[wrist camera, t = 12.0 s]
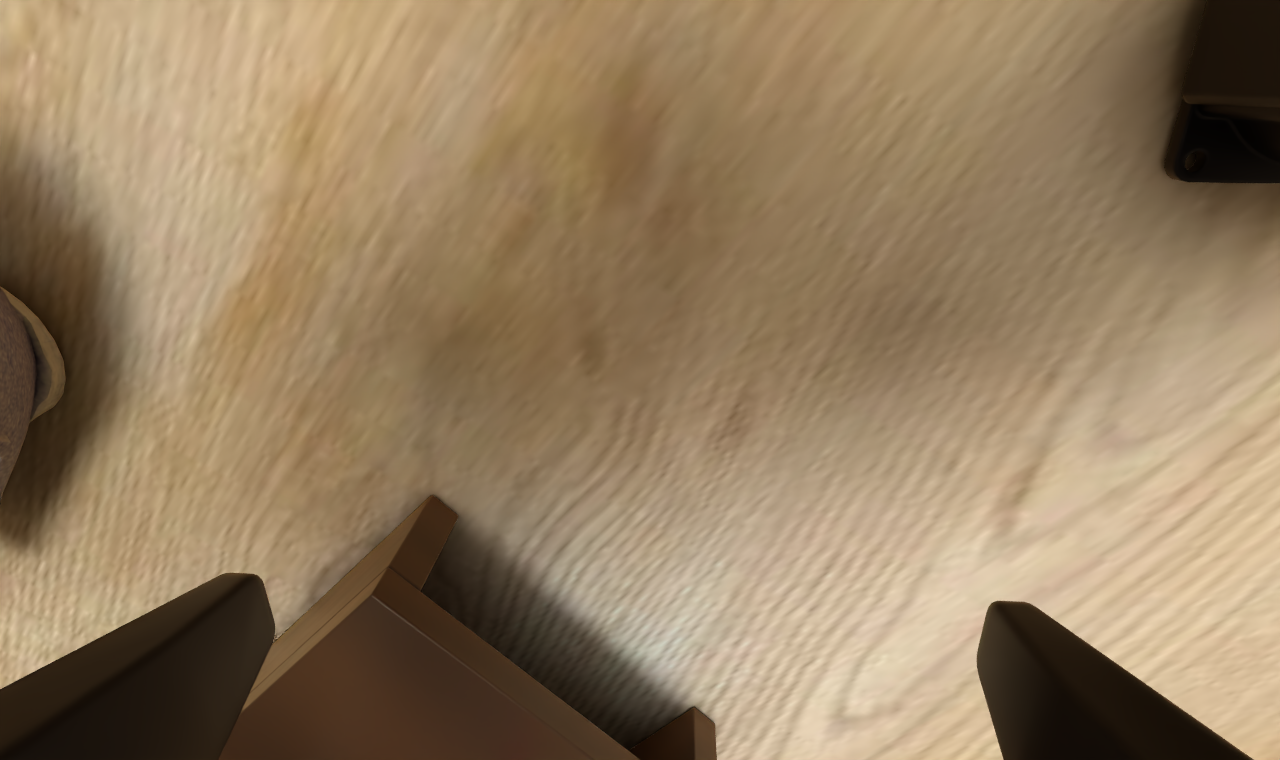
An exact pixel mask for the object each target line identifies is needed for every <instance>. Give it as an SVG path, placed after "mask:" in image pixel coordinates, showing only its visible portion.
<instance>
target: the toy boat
mask: <svg viewBox="0 0 1280 760" xmlns="http://www.w3.org/2000/svg"><path fill="white" fill-rule="evenodd" d="M65 382H66V377H65V370H64V361H63V358H62V356H61V354H60V351H59V349H58V347H57V344H56V342H55V340H54V339H53V337H52V336H51V335H50V333H49V332H48V330H47V329H46V328H45V326H44V325H43V323H42V322H41V321H40V319H39V318H38V317H37V316H36V315H35V314H34V313H33V312H32V311H31V310H30V309H29V308H28V307H27V306H26V305H25V304H24V303H23V302H22V301H20V300H19V299H17V298H16V297H15V296H13V295H12V294H11V293H9V292H8V291H6V290H5V289H4V288H2V287H0V500H1V498H2V493H3V491H4V489H5V486H6V484H7V481H8V479H9V477H10V475H11V472H12V470H13V468H14V466H15V463H16V461H17V459H18V456H19V453H20V450H21V447H22V445H23V442H24V440H25V437H26V434H27V430H28V426H29V423H30V422H31V421H32V420H34V419H35V418H36V417H38V416H40V415H41V414H43V413H45V412H46V411H48V410H50V409H51V408H53V407H54V406H55V405H56V404H57V402H58V401H59V400H60V398H61V397H62V395H63V391H64V386H65ZM0 504H1V503H0Z"/></svg>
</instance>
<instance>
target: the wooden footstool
mask: <svg viewBox="0 0 1280 760" xmlns="http://www.w3.org/2000/svg"><path fill="white" fill-rule="evenodd" d="M457 519H458V515H457V514H456V513H454V512H453V511H452V510H451V509H449V508H448V507H447V506H446V505H445V504H443V503H442V502H441V501H440V500H438V499H437V498H436V497H435V496H433V495H431V496H430V497H429V498H428V499H427V500H425V501H424V502H423V503H422V504H421V505H420V506H419V507H418V508H417V509H416V510H415V511H414V512H413V513H412V514H411V515H410V516H408V517H407V518H406V519H405V520H404V521H403V522H402V523H401V524H400V525H399V526H398V527H397V528H396V529H395V530H394V531H392V532H391V533H390V534H389V535H388V536H387V537H386V538H385V539H384V540H383V541H382V542H381V543H380V544H379V545H378V546H376V547H375V548H374V549H373V550H372V551H371V552H370V553H369V554H368V555H367V556H366V557H365V558H364V559H363V560H362V561H361V562H359V563H358V564H357V565H356V566H355V567H354V568H353V569H352V570H351V571H350V572H349V573H348V574H347V575H346V576H345V577H343V578H342V579H341V580H340V581H339V582H338V583H337V584H336V585H335V586H334V587H333V588H332V589H331V590H330V591H329V592H327V593H326V594H325V595H324V596H323V597H322V598H321V599H320V600H319V601H318V602H317V603H316V604H315V605H314V606H313V607H312V608H310V609H309V610H308V611H307V612H306V613H305V614H304V615H303V616H302V617H301V618H300V619H299V620H298V621H297V622H296V623H294V624H293V625H292V626H291V627H290V628H289V629H288V630H287V631H286V632H285V633H284V634H283V635H282V636H281V637H280V638H278V639H277V640H276V641H275V642H274V643H273V644H272V645H271V648H270V650H269V652H268V654H267V656H266V659H265V661H264V663H263V665H262V667H261V669H260V672H259V674H258V676H257V678H256V680H255V682H254V685H253V687H252V689H251V691H250V693H249V695H248V698H247V700H246V702H245V704H244V706H243V709H242V711H241V713H240V715H239V717H238V719H237V722H236V724H235V726H234V728H233V730H232V732H231V735H230V737H229V739H228V741H227V743H226V745H225V747H224V749H223V751H222V753H221V755H220V757H219V759H218V760H717V754H716V735H715V724H714V723H713V722H712V721H711V720H709V719H708V718H707V717H706V716H704V715H703V714H702V713H701V712H700V711H698V710H697V709H696V708H692V709H690V710H689V711H687V712H686V713H684V714H683V715H681V716H680V717H678V718H677V719H675V720H674V721H672V722H671V723H669V724H668V725H666V726H665V727H663V728H662V729H660V730H659V731H657V732H656V733H654V734H653V735H651V736H649V737H648V738H646V739H645V740H643V741H642V742H640V743H639V744H637V745H636V746H634V747H633V748H631V749H630V750H627V749H625V748H624V747H623V746H621V745H620V744H619V743H618V742H616V741H615V740H614V739H612V738H611V737H610V736H608V735H607V734H606V733H604V732H603V731H602V730H601V729H599V728H598V727H597V726H595V725H594V724H593V723H591V722H590V721H589V720H587V719H586V718H585V717H584V716H582V715H581V714H580V713H578V712H577V711H576V710H574V709H573V708H572V707H570V706H569V705H568V704H567V703H565V702H564V701H563V700H561V699H560V698H559V697H557V696H556V695H555V694H553V693H552V692H551V691H550V690H548V689H547V688H546V687H544V686H543V685H542V684H540V683H539V682H538V681H537V680H535V679H534V678H533V677H531V676H530V675H529V674H527V673H526V672H525V671H523V670H522V669H521V668H520V667H518V666H517V665H516V664H514V663H513V662H512V661H510V660H509V659H508V658H506V657H505V656H504V655H503V654H501V653H500V652H499V651H497V650H496V649H495V648H493V647H492V646H491V645H489V644H488V643H487V642H486V641H484V640H483V639H482V638H480V637H479V636H478V635H476V634H475V633H474V632H472V631H471V630H470V629H469V628H467V627H466V626H465V625H463V624H462V623H461V622H459V621H458V620H457V619H455V618H454V617H453V616H452V615H450V614H449V613H448V612H446V611H445V610H444V609H442V608H441V607H440V606H438V605H437V604H436V603H435V602H433V601H432V600H431V599H429V598H428V597H427V596H425V595H424V594H423V593H421V592H420V591H421V589H422V587H423V585H424V583H425V581H426V580H427V578H428V576H429V574H430V572H431V570H432V568H433V566H434V564H435V562H436V560H437V558H438V556H439V554H440V552H441V550H442V548H443V546H444V544H445V542H446V540H447V539H448V537H449V535H450V533H451V531H452V529H453V527H454V525H455V523H456V521H457Z"/></svg>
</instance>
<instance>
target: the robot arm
mask: <svg viewBox="0 0 1280 760" xmlns="http://www.w3.org/2000/svg"><path fill="white" fill-rule="evenodd" d="M1181 94H1182V96H1183V99H1182V103H1181V106H1180V110H1179V113H1178V117H1177V120H1176V123H1175V127H1174V130H1173V134H1172V137H1171V141H1170V144H1169V148H1168V151H1167V155H1166V158H1165V165H1164V168H1165V171H1166V174H1167V175H1168V176H1170V177H1171V178H1172V179H1176V180H1181V181H1186V182H1209V183H1280V0H1207V3H1206V6H1205V10H1204V13H1203V17H1202V20H1201V24H1200V27H1199V31H1198V34H1197V38H1196V41H1195V44H1194V48H1193V51H1192V55H1191V58H1190V62H1189V65H1188V69H1187V72H1186V76H1185V79H1184V83H1183V86H1182V90H1181ZM1193 152H1194V153H1195V154H1196V161H1195V162H1194V164H1193V166H1191V167H1190V168H1189V169H1186V168H1185V161H1186V159H1187V157H1188V156H1189V155H1190V154H1192V153H1193ZM274 635H275V623H274V619H273V615H272V612H271V608H270V604H269V601H268V597H267V594H266V590H265V587H264V583H263V581H262V579H261V578H260V577H259V576H257V575H255V574H245V573H226V574H222V575H220V576H218V577H216V578H214V579H212V580H210V581H208V582H206V583H204V584H202V585H200V586H198V587H197V588H195V589H193V590H191V591H189V592H187V593H185V594H183V595H181V596H179V597H177V598H175V599H173V600H171V601H170V602H168V603H166V604H164V605H162V606H160V607H158V608H156V609H154V610H152V611H150V612H148V613H146V614H145V615H143V616H141V617H139V618H137V619H135V620H133V621H131V622H129V623H127V624H125V625H123V626H121V627H119V628H118V629H116V630H114V631H112V632H110V633H108V634H106V635H104V636H102V637H100V638H98V639H96V640H94V641H93V642H91V643H89V644H87V645H85V646H83V647H81V648H79V649H77V650H75V651H73V652H71V653H69V654H67V655H66V656H64V657H62V658H60V659H58V660H56V661H54V662H52V663H50V664H48V665H46V666H44V667H42V668H41V669H39V670H37V671H35V672H33V673H31V674H29V675H27V676H25V677H23V678H21V679H19V680H17V681H15V682H14V683H12V684H10V685H8V686H6V687H4V688H2V689H0V760H218V759H219V757H220V755H221V753H222V751H223V749H224V747H225V745H226V743H227V741H228V739H229V737H230V735H231V732H232V730H233V728H234V726H235V724H236V722H237V719H238V717H239V715H240V713H241V711H242V709H243V706H244V704H245V702H246V700H247V698H248V695H249V693H250V691H251V689H252V687H253V685H254V682H255V680H256V678H257V676H258V674H259V672H260V669H261V667H262V665H263V663H264V661H265V659H266V656H267V654H268V652H269V650H270V648H271V645H272V643H273V639H274ZM977 669H978V674H979V678H980V681H981V685H982V688H983V691H984V695H985V698H986V701H987V705H988V708H989V712H990V715H991V718H992V722H993V725H994V729H995V732H996V735H997V739H998V742H999V746H1000V749H1001V752H1002V756H1003V759H1004V760H1253V759H1252V758H1250V757H1249V756H1248V755H1246V754H1245V753H1243V752H1242V751H1240V750H1239V749H1238V748H1236V747H1235V746H1233V745H1232V744H1230V743H1229V742H1228V741H1226V740H1225V739H1223V738H1222V737H1221V736H1219V735H1218V734H1216V733H1215V732H1213V731H1212V730H1211V729H1209V728H1208V727H1206V726H1205V725H1203V724H1202V723H1201V722H1199V721H1198V720H1196V719H1195V718H1193V717H1192V716H1191V715H1189V714H1188V713H1186V712H1185V711H1183V710H1182V709H1181V708H1179V707H1178V706H1176V705H1175V704H1173V703H1172V702H1171V701H1169V700H1168V699H1166V698H1165V697H1163V696H1162V695H1161V694H1159V693H1158V692H1156V691H1155V690H1153V689H1152V688H1151V687H1149V686H1148V685H1146V684H1145V683H1143V682H1142V681H1141V680H1139V679H1138V678H1136V677H1135V676H1133V675H1132V674H1131V673H1129V672H1128V671H1126V670H1125V669H1124V668H1122V667H1121V666H1119V665H1118V664H1116V663H1115V662H1114V661H1112V660H1111V659H1109V658H1108V657H1106V656H1105V655H1104V654H1102V653H1101V652H1099V651H1098V650H1096V649H1095V648H1094V647H1092V646H1091V645H1089V644H1088V643H1086V642H1085V641H1084V640H1082V639H1081V638H1079V637H1078V636H1076V635H1075V634H1074V633H1072V632H1071V631H1069V630H1068V629H1066V628H1065V627H1064V626H1062V625H1061V624H1059V623H1058V622H1056V621H1055V620H1054V619H1052V618H1051V617H1049V616H1048V615H1046V614H1045V613H1044V612H1042V611H1041V610H1039V609H1038V608H1037V607H1035V606H1033V605H1032V604H1030V603H1026V602H1013V601H996V602H993V603H992V604H991V605H990V606H989V608H988V610H987V613H986V618H985V622H984V626H983V630H982V634H981V639H980V643H979V647H978V652H977Z"/></svg>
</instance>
